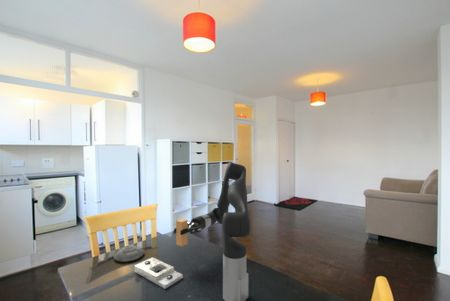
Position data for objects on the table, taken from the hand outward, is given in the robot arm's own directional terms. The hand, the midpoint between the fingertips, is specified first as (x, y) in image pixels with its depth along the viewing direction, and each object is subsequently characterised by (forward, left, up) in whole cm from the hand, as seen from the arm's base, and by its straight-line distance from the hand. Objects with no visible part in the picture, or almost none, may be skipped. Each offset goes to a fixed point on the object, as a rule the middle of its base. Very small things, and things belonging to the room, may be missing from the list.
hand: (177, 231), depth 111 cm
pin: (0, -3, -7) cm, 8 cm away
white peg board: (+2, +10, -17) cm, 20 cm away
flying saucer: (+29, +8, -18) cm, 35 cm away
